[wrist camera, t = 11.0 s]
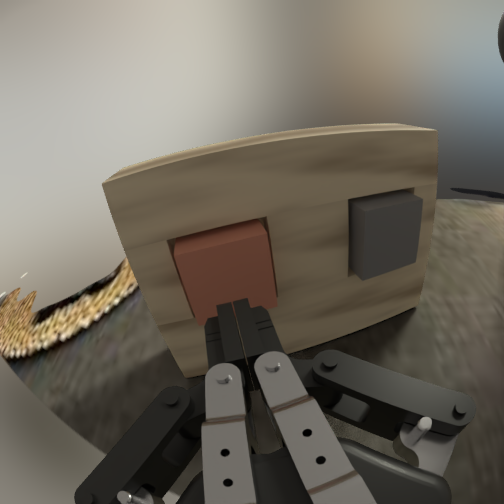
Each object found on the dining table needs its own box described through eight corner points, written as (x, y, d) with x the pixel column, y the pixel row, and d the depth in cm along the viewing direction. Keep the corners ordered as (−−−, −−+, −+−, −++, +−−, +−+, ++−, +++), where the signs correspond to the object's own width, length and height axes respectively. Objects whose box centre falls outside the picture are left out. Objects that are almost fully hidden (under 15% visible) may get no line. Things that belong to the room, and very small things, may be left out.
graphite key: (342, 260, 20) (341, 196, 18) (393, 245, 21) (396, 186, 18) (362, 280, 18) (364, 211, 15) (415, 262, 18) (423, 198, 16)
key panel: (183, 337, 25) (123, 167, 17) (390, 278, 27) (396, 123, 19) (185, 378, 20) (101, 183, 13) (417, 305, 23) (437, 130, 15)
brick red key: (196, 297, 19) (176, 233, 17) (265, 280, 20) (255, 214, 17) (198, 326, 16) (173, 255, 14) (277, 306, 17) (267, 233, 15)
